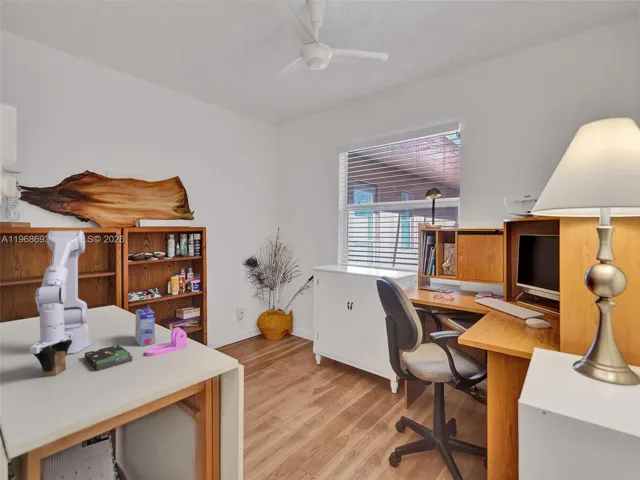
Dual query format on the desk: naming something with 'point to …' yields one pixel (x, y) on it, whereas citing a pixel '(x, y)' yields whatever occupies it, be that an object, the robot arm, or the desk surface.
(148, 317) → the ink cartridge box
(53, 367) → the walnut block
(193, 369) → the desk surface
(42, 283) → the robot arm
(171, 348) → the bracket
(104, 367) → the disk drive
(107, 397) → the desk surface
